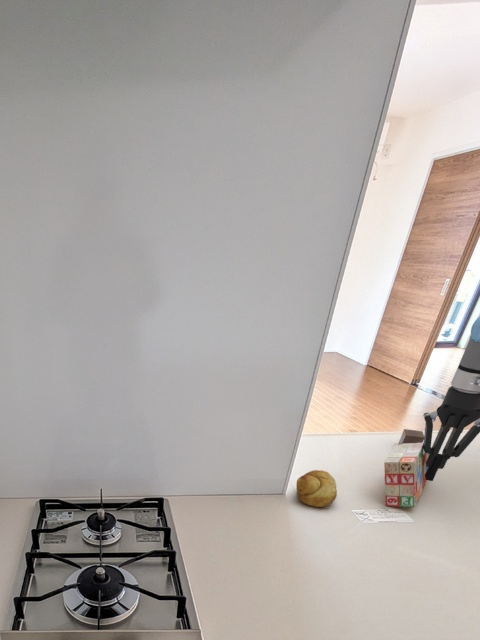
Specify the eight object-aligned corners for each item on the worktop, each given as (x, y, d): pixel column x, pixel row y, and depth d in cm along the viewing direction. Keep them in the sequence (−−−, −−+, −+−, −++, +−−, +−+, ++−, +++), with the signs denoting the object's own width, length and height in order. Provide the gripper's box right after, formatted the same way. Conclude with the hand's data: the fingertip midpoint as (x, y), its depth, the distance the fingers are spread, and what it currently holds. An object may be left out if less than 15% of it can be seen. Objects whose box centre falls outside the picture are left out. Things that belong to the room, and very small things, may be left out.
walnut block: (416, 445, 139) (422, 431, 136) (418, 452, 135) (424, 437, 132) (398, 443, 141) (404, 428, 138) (399, 449, 137) (405, 435, 134)
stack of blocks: (403, 473, 125) (402, 432, 120) (430, 473, 121) (430, 431, 116) (385, 506, 112) (383, 461, 107) (415, 507, 107) (414, 461, 103)
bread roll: (301, 482, 123) (308, 456, 118) (338, 491, 118) (347, 465, 114) (289, 503, 114) (296, 477, 110) (329, 514, 110) (338, 487, 105)
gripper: (438, 390, 99) (400, 480, 112) (509, 397, 94) (461, 490, 108) (433, 380, 105) (398, 467, 118) (500, 386, 100) (456, 476, 113)
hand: (428, 478), depth 113 cm, fingers closed
